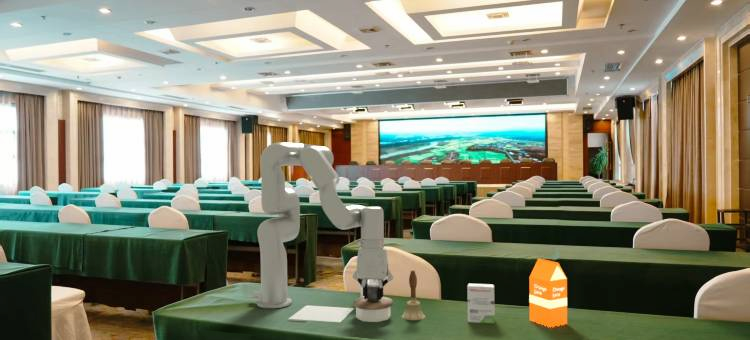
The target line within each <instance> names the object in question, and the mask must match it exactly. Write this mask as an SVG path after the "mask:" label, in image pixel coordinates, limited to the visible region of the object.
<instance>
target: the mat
mask: <svg viewBox="0 0 750 340" xmlns="http://www.w3.org/2000/svg"><path fill="white" fill-rule="evenodd" d="M353 310H355V307H354V308H353V307H339V306H325V305H324V306H323V305H322V306H321V305H307V304H306V305H305V306H304V307H302V308H301V309H300V310H298V311H297V312H295V313H294V314H293V315H291V316H290V317H289V318H288V320H287V321H289V322H290V321H293V322H303V323H304V322H305V323H306V322H308V321H313V322H314V321H315V322H316V321H317V322H328V323H329V322H330V323H341V322H342V321H344V319H345V318H347V316H348V315H349V314H350V313H351V312H352V311H353Z"/></svg>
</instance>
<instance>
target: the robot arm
mask: <svg viewBox="0 0 750 340" xmlns="http://www.w3.org/2000/svg"><path fill="white" fill-rule="evenodd" d="M334 160H335V159H334V153H333V152H332V151H331V149H329V148H328V147H327V146H322V145H314V144H309V143H308V144H307V143H301V142H288V141H287V142H286V141H285V142H283V141H281V142H280V141H279V142H278V141H277V142H274V143H270V144H269V145H268V146H266V147H265V148H264V150H263V151H262V153H261V155H260V159H259V165H260V174H261V175H260V176H261V184H260V185H261V186H260V187H261V190H260V192H261V194H260V195H261V209H262V211H263V212H264V213H265V214H266V215H271V216H275V215H278V217H271V218H268V219H266V220H264V221H262V222H261V223H260V224H259V226H258V228H257V234H256V235H257V241H258V244H259V251H260V291H252V293H251V298H252V299H258V300H257V301H256V306H257V307H259V308H262V309H281V308H285V307H288V306H290V305H292V303H293V300H292V298H290V297H289V296H288V258H287V254H288V253H287V251H286V248H285V245H284V243H287V242H290V241H291V242H292V241H293V240H294V239H296V238H297V237H298V235H299V232H300V228H301V226H300V224H301V217H300V216H301V214H300V213H301V212H300V211H301V207H300V206H301V205H300V203H301V202H300V197H299V195H298V193H297V191H295V190H294V189H293V188H290V187H286V176H285V173H284V171H283V168H282V167H284V166H287V167H288V166H289V167H290V166H291V167H292V166H296V167H297V166H298V167H302V168H303V170H304V171H305V172H306V174H307V175H308V177H309V179H310V180H311V181H312V183H313V184H314V185H315V187H316V188H317V190H318V193H319V200H320V205H321V209H322V210H323V212H324V213H325V215H326V217H327V219H328V220H329V221H330V222H331V223H332V225H334V226H335V228H337V229H340V230H343V231H344V230H350V229H354V228H359V227H360V239H357V240H356V244H357V245H360V247H359V248H358V251H357V256H356V257H357V259H356V270H355V271H354V273H353V275H352V278H353V279H354V280H355V281H357V282H358V284H359V283H360V284H361V286H362V287H363V296H364V299H367V286H368V285H367V281H368V279H376V280H377V282H378V286H379V288H378V300H381V298H382V297H384V286H386V285H387V284H388V283H389V282H391V281H393V280H394V278H395V277H394V276H393V274H392V273H391V271H390V268H389V259H388V253H387V252H388V251H387V248H386V247H385V243H384V242H385V241H384V240H385V239H384V238H385V237H384V236H385V233H384V231H385V230H384V229H385V226H384V225H385V224H384V222H385V221H384V216H385V215H384V209H383V208H382V207H381V206H374V205H373V206H365V205H360V204H352V205H345V204H344V202H343V201H342V200H341V198H340V197H339V195H338V192H337V185H338V184H339V182H340V179H341V178H340V176H339V174H338V173H337V171H336V170H335V169H334V168H333V164H334ZM360 284H359V285H360Z"/></svg>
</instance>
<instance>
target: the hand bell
mask: <svg viewBox="0 0 750 340" xmlns="http://www.w3.org/2000/svg"><path fill="white" fill-rule="evenodd" d="M408 283H409V287H410V300H408V301H407V302H406V306H405V307H406V308H405V310H404V312H403V314H402V315H401V318H402V319H404V320H408V321H420V320H424V319H425V318H426V315H425V314H424V313H423V311H422V307H421V302H420V301H418V300H417V295H416V294H417V293H416V291H417V290H416V289H417V285H418V278H417V274H416V271H415V270H410V274H409V278H408Z"/></svg>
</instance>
